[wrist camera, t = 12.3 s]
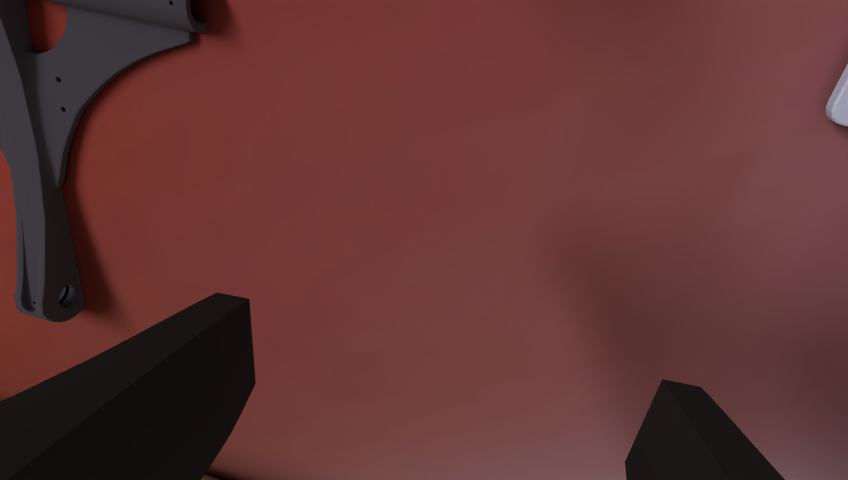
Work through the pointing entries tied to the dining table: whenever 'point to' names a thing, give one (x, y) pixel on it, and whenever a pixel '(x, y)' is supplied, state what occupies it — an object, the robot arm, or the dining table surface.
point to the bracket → (65, 123)
